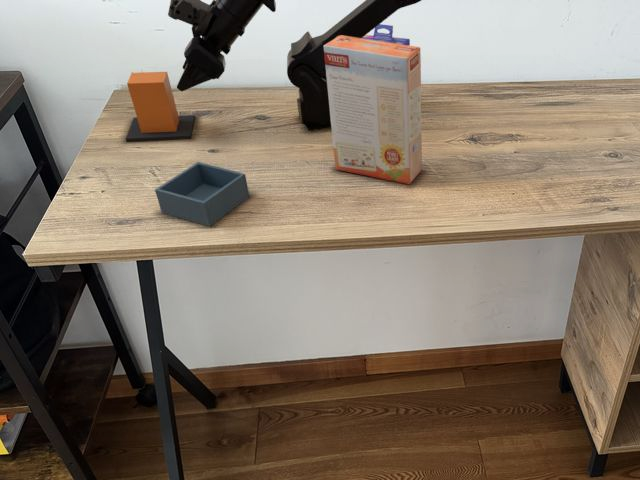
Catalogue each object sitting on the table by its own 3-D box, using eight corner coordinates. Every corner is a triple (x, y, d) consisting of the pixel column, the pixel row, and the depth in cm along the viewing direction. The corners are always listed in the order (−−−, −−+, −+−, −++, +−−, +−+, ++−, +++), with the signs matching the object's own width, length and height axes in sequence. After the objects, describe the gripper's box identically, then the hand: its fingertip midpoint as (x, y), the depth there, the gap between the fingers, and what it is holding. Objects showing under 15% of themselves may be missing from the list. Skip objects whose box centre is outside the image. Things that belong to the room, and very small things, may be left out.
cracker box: (423, 170, 118) (422, 45, 104) (409, 186, 114) (407, 58, 100) (349, 155, 121) (340, 31, 107) (334, 170, 117) (321, 43, 103)
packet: (179, 120, 128) (167, 71, 122) (176, 131, 124) (163, 82, 118) (145, 121, 127) (131, 72, 121) (141, 133, 123) (126, 83, 117)
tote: (203, 184, 112) (198, 161, 109) (249, 196, 110) (245, 173, 107) (161, 212, 105) (154, 189, 102) (209, 226, 103) (204, 203, 100)
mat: (195, 118, 130) (194, 115, 130) (190, 138, 124) (190, 135, 123) (134, 120, 128) (133, 117, 128) (126, 141, 122) (125, 138, 121)
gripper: (196, -41, 117) (146, 29, 123) (184, -10, 104) (129, 67, 109) (251, 7, 124) (202, 71, 129) (247, 42, 110) (192, 112, 116)
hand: (182, 79), depth 121 cm, fingers open, 9 cm apart
